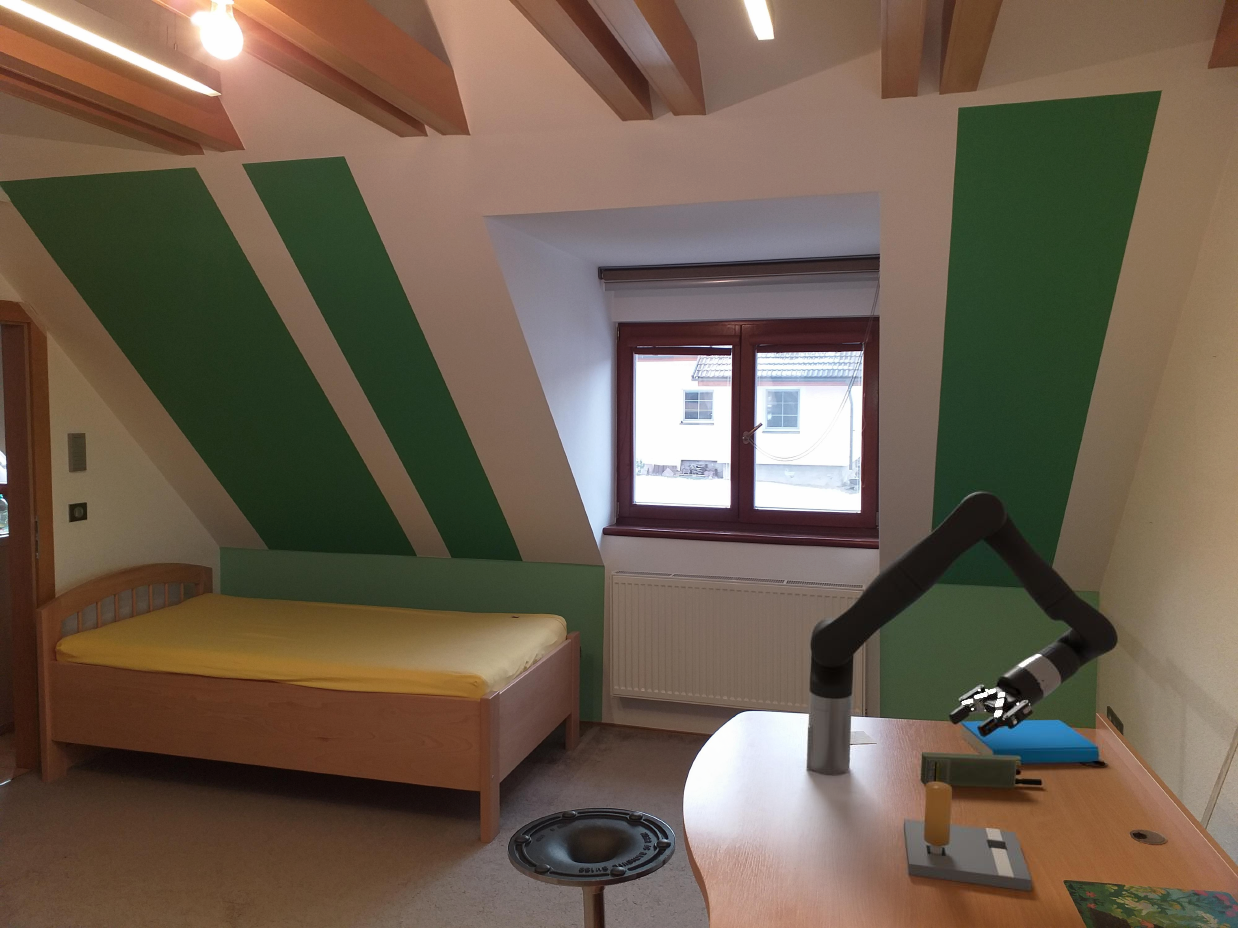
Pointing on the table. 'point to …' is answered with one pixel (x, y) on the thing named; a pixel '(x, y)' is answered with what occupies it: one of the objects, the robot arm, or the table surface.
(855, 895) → the table surface
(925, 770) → the handheld radio
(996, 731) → the book
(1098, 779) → the table surface
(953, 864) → the board
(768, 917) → the table surface
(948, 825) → the orange and grey cylinder
